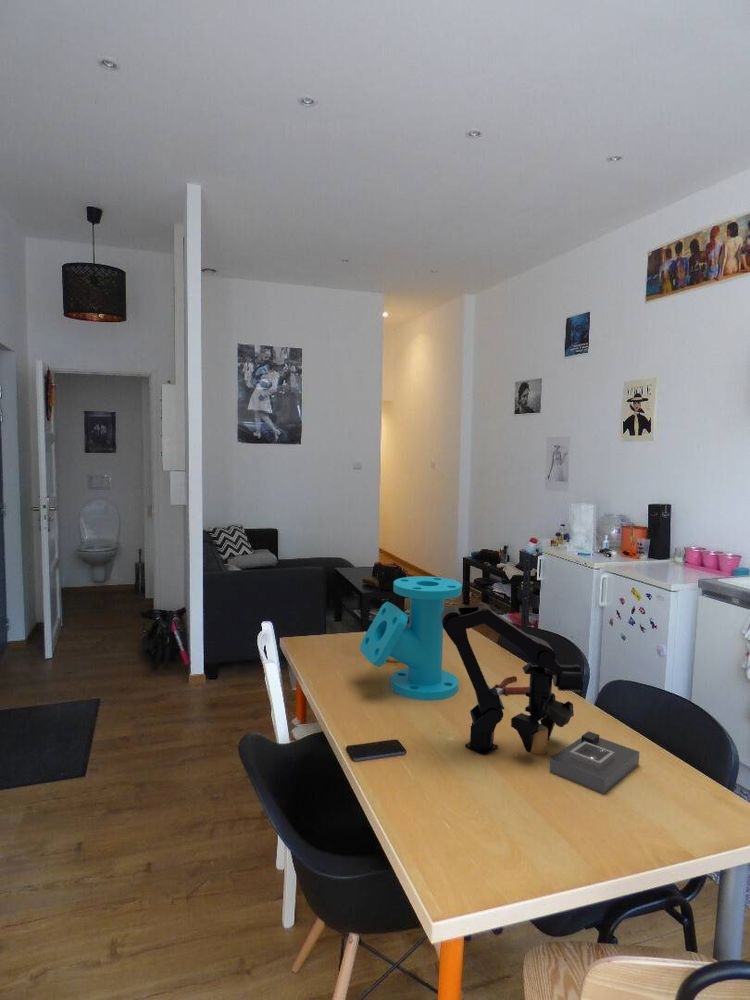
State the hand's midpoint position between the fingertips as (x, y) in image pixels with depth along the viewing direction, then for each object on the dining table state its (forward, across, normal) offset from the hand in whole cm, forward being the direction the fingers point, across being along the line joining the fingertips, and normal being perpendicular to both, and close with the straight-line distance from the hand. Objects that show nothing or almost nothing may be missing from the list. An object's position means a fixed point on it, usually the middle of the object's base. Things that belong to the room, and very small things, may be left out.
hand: (537, 746), depth 168 cm
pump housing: (+1, 0, 0) cm, 1 cm away
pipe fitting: (+1, +7, +51) cm, 51 cm away
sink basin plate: (+1, +2, -15) cm, 15 cm away
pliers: (+2, +30, +29) cm, 42 cm away
